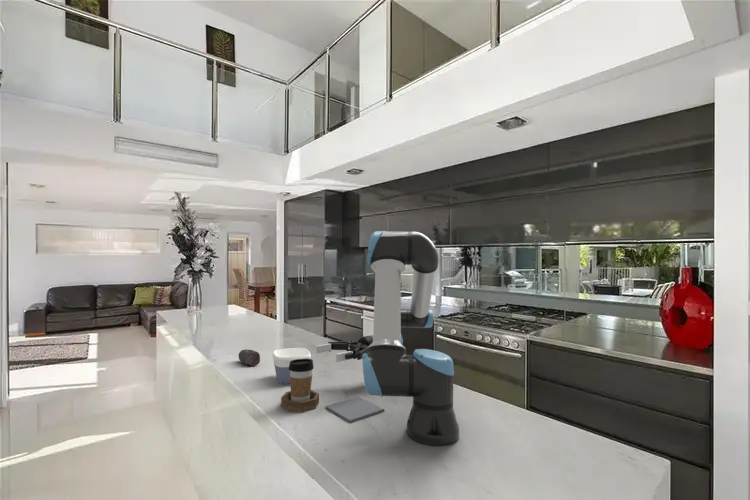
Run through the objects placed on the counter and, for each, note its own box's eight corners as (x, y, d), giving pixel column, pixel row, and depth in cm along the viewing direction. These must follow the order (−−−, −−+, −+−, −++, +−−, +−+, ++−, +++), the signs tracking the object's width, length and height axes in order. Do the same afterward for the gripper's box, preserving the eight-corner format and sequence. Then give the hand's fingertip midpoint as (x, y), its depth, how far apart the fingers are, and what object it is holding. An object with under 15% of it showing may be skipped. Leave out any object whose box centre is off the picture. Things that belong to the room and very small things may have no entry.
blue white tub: (313, 383, 147) (313, 355, 147) (274, 387, 141) (274, 358, 141) (306, 372, 161) (306, 346, 161) (270, 375, 155) (270, 349, 156)
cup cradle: (324, 405, 124) (324, 396, 124) (292, 414, 116) (293, 405, 116) (306, 395, 133) (307, 387, 133) (276, 403, 125) (276, 394, 126)
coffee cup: (307, 410, 120) (308, 364, 120) (283, 408, 122) (284, 362, 122) (316, 401, 128) (317, 358, 128) (294, 398, 130) (295, 356, 130)
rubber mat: (384, 411, 120) (384, 408, 120) (350, 422, 111) (350, 420, 111) (358, 398, 131) (358, 396, 131) (325, 408, 122) (325, 405, 122)
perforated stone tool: (234, 362, 175) (235, 347, 175) (244, 360, 179) (245, 345, 179) (250, 368, 165) (251, 353, 165) (261, 366, 168) (261, 351, 169)
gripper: (391, 361, 137) (345, 372, 123) (351, 347, 156) (308, 356, 142) (391, 341, 137) (346, 350, 123) (352, 330, 156) (308, 337, 142)
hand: (325, 353), depth 133 cm, fingers open, 13 cm apart
